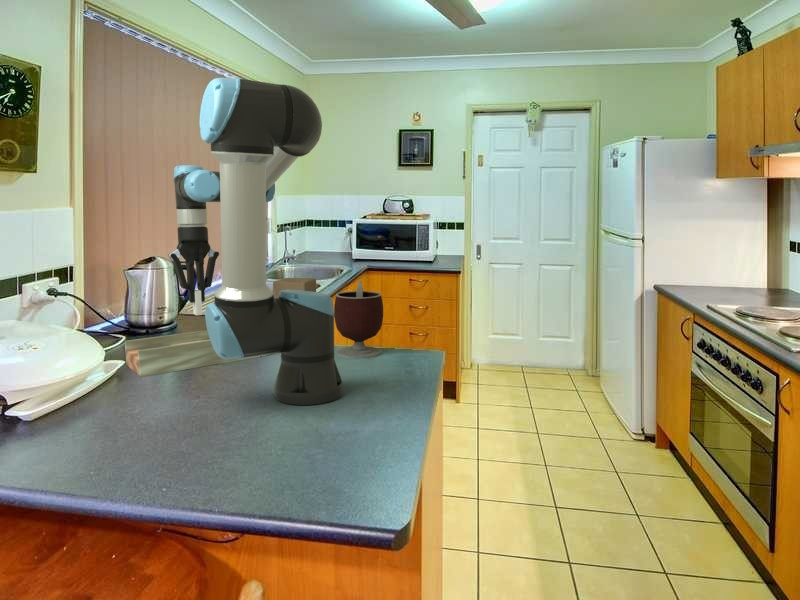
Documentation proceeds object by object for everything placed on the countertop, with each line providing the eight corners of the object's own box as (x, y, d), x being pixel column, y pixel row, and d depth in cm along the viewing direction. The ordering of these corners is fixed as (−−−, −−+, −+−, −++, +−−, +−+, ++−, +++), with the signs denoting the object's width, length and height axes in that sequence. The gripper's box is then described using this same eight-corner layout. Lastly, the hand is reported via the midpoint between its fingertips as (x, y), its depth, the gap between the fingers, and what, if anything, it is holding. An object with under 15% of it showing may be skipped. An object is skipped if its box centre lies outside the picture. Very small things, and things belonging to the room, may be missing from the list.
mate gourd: (382, 359, 156) (382, 287, 153) (332, 359, 156) (331, 287, 153) (384, 346, 172) (383, 280, 169) (338, 346, 172) (337, 280, 169)
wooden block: (306, 350, 167) (304, 282, 164) (274, 348, 169) (272, 281, 166) (318, 342, 177) (316, 278, 173) (287, 340, 179) (285, 277, 175)
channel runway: (268, 355, 161) (268, 332, 160) (140, 377, 140) (138, 351, 139) (248, 346, 172) (247, 324, 170) (126, 364, 151) (124, 340, 150)
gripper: (211, 225, 157) (216, 310, 160) (162, 226, 149) (168, 315, 152) (222, 225, 151) (226, 313, 154) (171, 226, 143) (177, 318, 146)
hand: (197, 314), depth 153 cm, fingers closed
